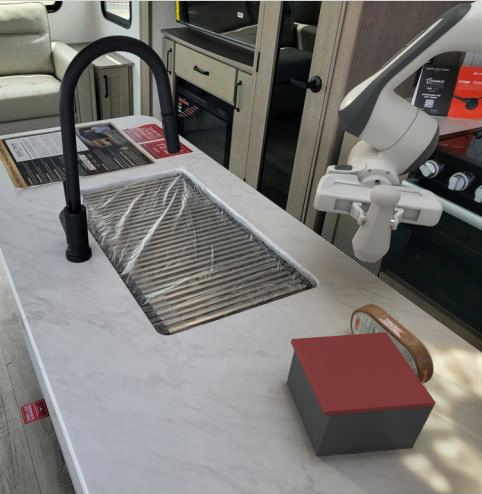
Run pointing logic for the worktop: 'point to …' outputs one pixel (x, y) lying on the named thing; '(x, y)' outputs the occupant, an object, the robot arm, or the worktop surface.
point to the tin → (394, 337)
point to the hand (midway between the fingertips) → (377, 223)
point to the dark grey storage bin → (353, 422)
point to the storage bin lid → (359, 374)
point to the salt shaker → (376, 225)
